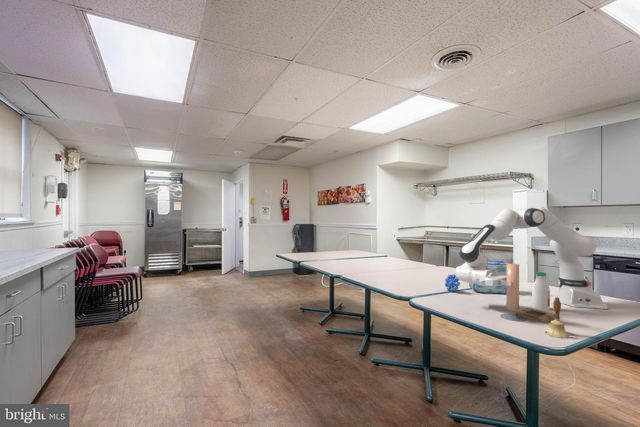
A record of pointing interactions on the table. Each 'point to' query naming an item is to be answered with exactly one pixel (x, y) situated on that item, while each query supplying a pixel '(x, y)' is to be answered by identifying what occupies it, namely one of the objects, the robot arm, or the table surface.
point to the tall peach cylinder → (513, 287)
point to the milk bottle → (541, 292)
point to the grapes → (452, 283)
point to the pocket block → (536, 315)
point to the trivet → (513, 317)
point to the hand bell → (557, 323)
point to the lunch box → (499, 267)
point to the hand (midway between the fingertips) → (514, 282)
